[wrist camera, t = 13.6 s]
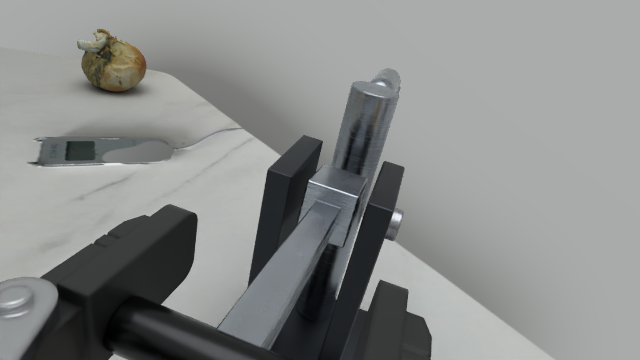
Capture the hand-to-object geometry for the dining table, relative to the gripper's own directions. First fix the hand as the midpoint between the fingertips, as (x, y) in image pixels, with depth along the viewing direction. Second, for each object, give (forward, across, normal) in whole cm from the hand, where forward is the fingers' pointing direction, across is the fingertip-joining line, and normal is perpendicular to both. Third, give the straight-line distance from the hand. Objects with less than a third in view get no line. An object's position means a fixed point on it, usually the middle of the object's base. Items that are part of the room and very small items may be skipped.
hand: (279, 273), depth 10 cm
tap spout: (+15, 0, -12) cm, 19 cm away
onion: (+39, -38, -13) cm, 56 cm away
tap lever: (+2, 0, -2) cm, 3 cm away
